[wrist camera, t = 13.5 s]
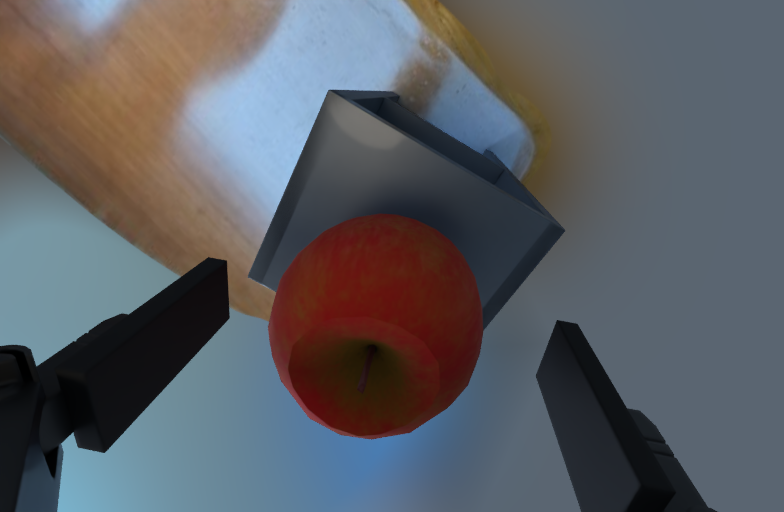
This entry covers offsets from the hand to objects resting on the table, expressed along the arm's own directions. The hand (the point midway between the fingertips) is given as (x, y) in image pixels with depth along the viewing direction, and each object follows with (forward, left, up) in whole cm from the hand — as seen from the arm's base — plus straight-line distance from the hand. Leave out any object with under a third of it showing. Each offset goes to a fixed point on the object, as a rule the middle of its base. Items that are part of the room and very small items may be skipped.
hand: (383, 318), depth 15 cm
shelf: (0, 0, -35) cm, 35 cm away
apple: (0, 0, -7) cm, 7 cm away
